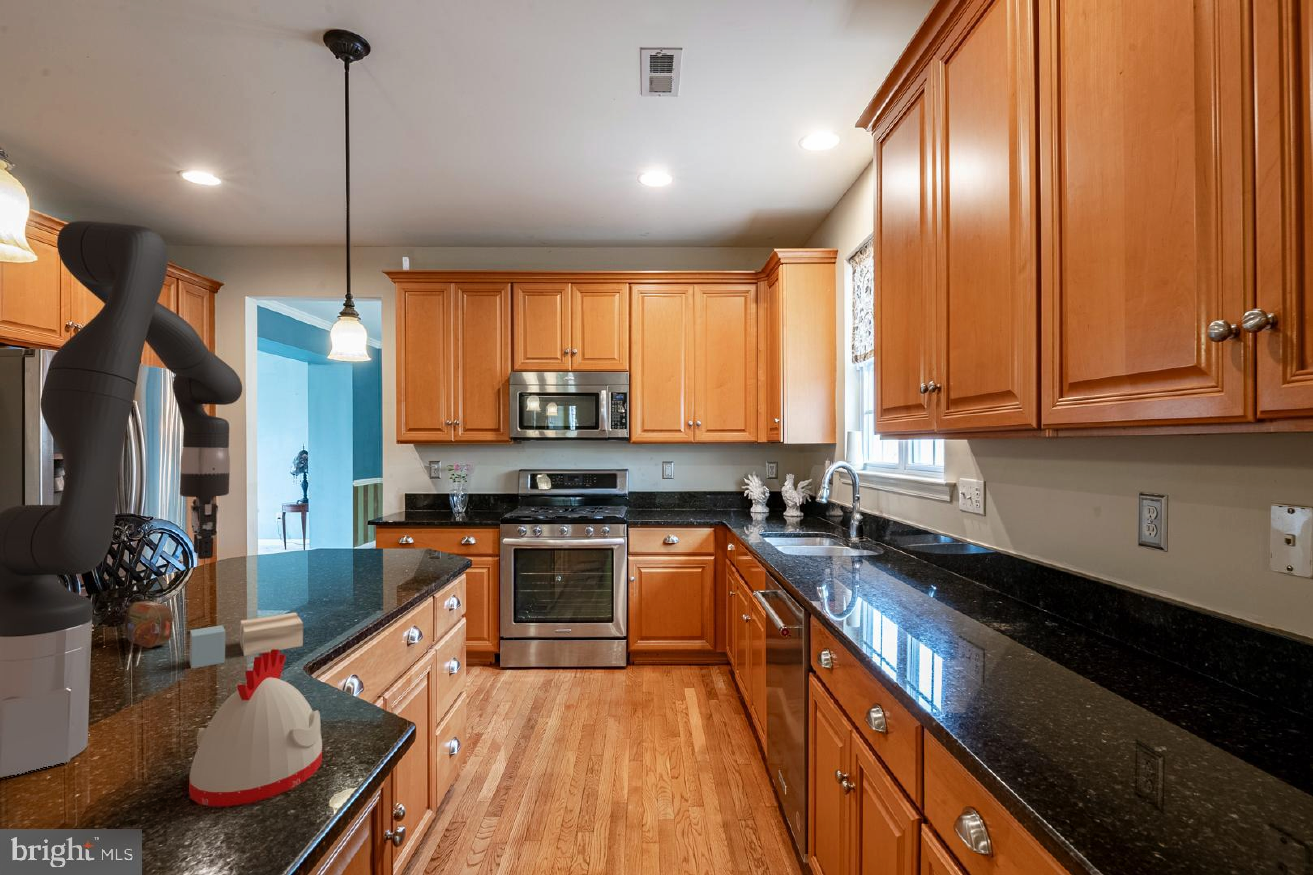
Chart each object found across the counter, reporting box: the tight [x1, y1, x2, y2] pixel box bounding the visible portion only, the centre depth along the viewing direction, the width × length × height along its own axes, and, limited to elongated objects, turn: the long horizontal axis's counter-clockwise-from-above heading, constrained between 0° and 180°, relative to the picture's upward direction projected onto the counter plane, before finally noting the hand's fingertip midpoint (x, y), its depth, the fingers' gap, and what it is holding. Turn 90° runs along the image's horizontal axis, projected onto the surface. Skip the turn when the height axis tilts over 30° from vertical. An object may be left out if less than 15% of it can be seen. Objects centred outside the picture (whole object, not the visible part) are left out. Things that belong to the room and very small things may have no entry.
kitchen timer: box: [188, 649, 323, 807], centre depth 74 cm, size 14×14×15 cm
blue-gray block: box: [188, 624, 227, 670], centre depth 112 cm, size 5×5×6 cm
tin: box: [124, 600, 174, 649], centre depth 122 cm, size 15×3×8 cm, turn 62°
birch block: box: [239, 611, 304, 657], centre depth 122 cm, size 10×10×5 cm
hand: (202, 555), depth 112 cm, fingers open, 8 cm apart
